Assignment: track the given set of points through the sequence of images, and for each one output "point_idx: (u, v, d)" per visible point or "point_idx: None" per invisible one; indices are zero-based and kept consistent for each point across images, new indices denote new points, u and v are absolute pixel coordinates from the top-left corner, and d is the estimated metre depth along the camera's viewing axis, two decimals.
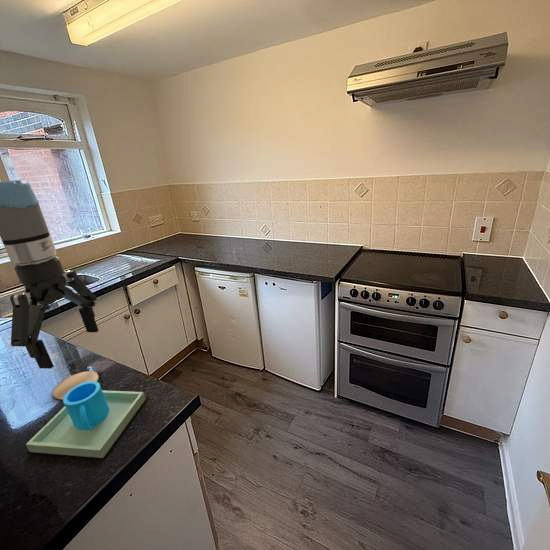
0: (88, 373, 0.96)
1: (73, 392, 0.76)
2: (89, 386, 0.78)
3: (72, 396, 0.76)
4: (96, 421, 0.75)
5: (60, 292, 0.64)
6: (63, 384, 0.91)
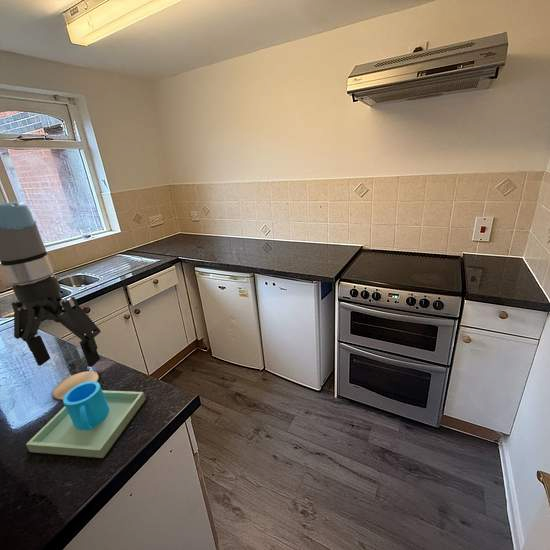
0: (88, 373, 0.96)
1: (73, 392, 0.76)
2: (89, 386, 0.78)
3: (72, 396, 0.76)
4: (96, 421, 0.75)
5: None
6: (63, 384, 0.91)
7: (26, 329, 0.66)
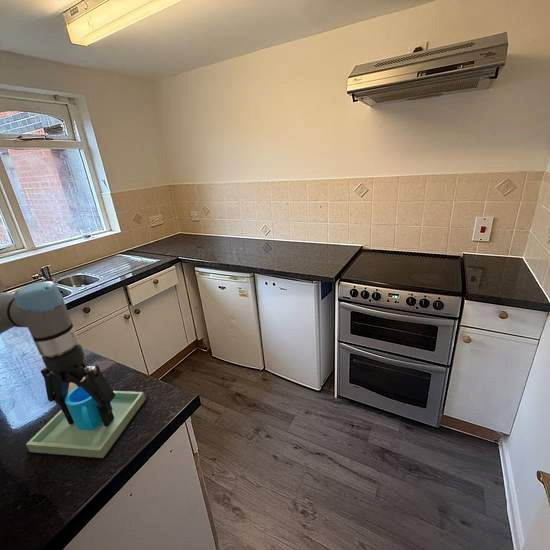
0: None
1: (74, 393, 0.76)
2: None
3: (74, 396, 0.76)
4: (98, 421, 0.75)
5: None
6: None
7: (57, 393, 0.72)
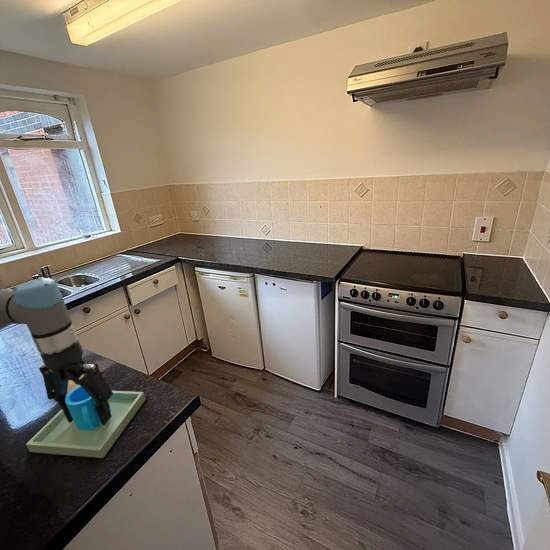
0: None
1: (74, 392, 0.76)
2: None
3: (74, 396, 0.76)
4: (98, 421, 0.75)
5: None
6: None
7: (56, 391, 0.72)
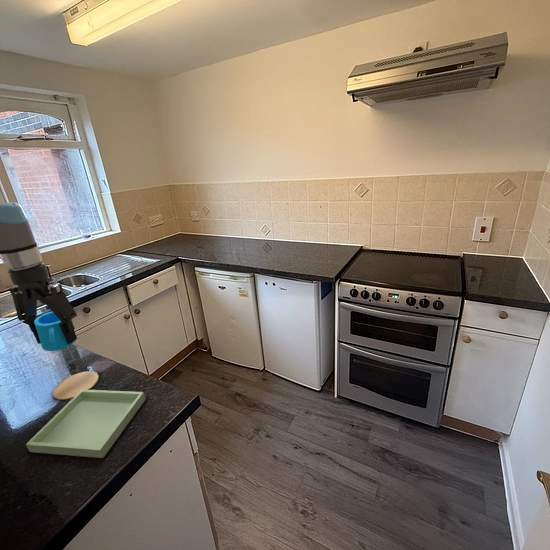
0: (88, 373, 0.96)
1: (44, 317, 0.83)
2: None
3: (43, 320, 0.83)
4: (63, 345, 0.83)
5: None
6: (63, 384, 0.91)
7: (25, 311, 0.79)
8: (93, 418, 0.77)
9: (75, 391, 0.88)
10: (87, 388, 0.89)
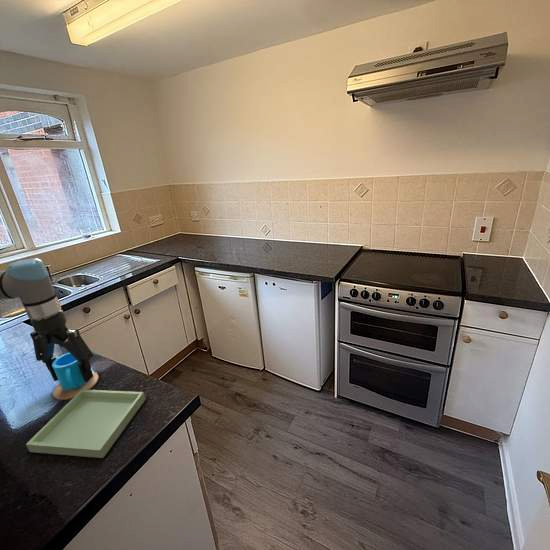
0: None
1: (60, 359, 0.91)
2: None
3: (60, 362, 0.91)
4: (80, 383, 0.90)
5: None
6: None
7: (44, 353, 0.87)
8: (93, 418, 0.77)
9: (75, 391, 0.88)
10: (87, 388, 0.89)
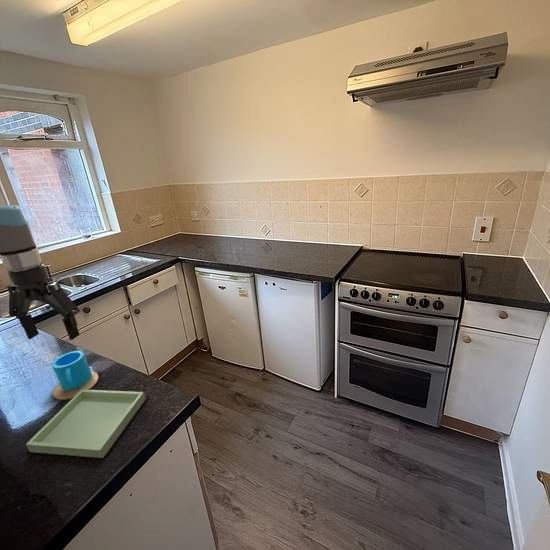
0: None
1: (60, 359, 0.91)
2: (74, 354, 0.93)
3: (60, 362, 0.91)
4: (80, 383, 0.90)
5: None
6: None
7: (19, 308, 0.81)
8: (93, 418, 0.77)
9: (75, 391, 0.88)
10: (87, 388, 0.89)
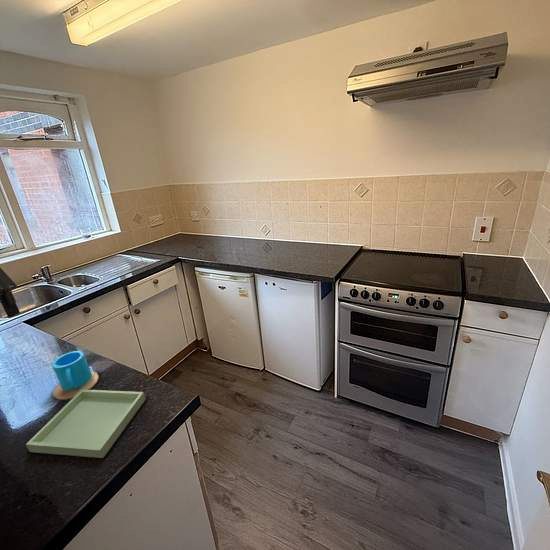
0: None
1: (60, 359, 0.91)
2: (74, 354, 0.93)
3: (60, 362, 0.91)
4: (80, 383, 0.90)
5: None
6: None
7: None
8: (93, 418, 0.77)
9: (75, 391, 0.88)
10: (87, 388, 0.89)
